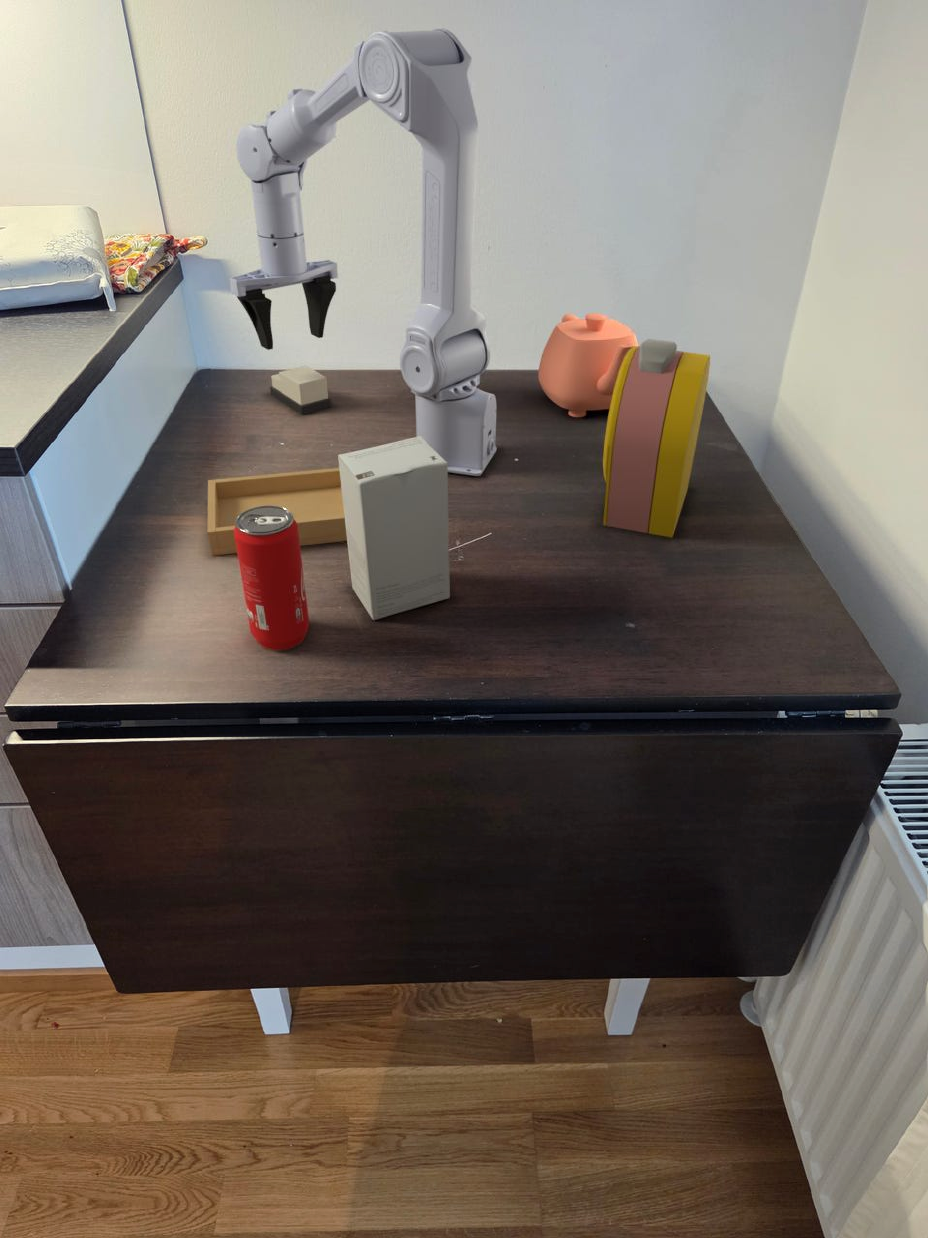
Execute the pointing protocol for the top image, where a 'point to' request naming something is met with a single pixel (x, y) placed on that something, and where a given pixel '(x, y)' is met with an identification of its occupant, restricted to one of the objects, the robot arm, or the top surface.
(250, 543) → the beverage can
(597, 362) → the teapot
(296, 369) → the two-tone beige block
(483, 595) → the top surface
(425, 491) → the cosmetic box
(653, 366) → the alarm clock
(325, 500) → the tray
